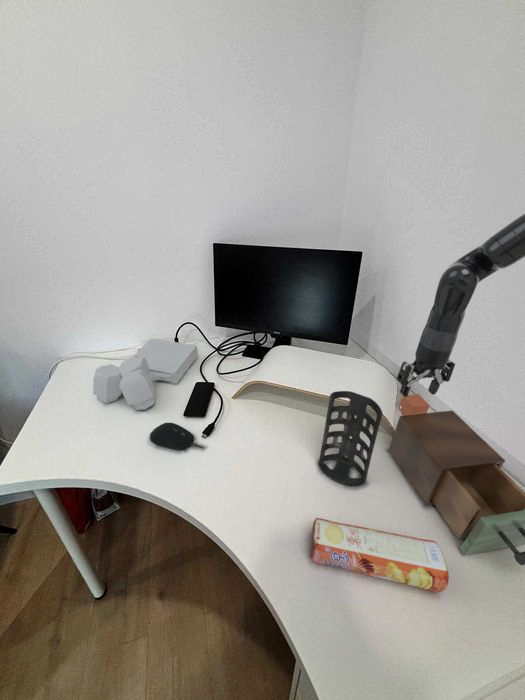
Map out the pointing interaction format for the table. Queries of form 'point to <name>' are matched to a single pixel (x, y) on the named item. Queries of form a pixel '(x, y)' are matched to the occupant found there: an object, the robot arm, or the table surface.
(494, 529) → the drawer
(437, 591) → the snack package
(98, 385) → the game console
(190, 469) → the table surface
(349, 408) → the holder
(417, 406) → the block
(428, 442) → the cabinet
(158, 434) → the gaming mouse
